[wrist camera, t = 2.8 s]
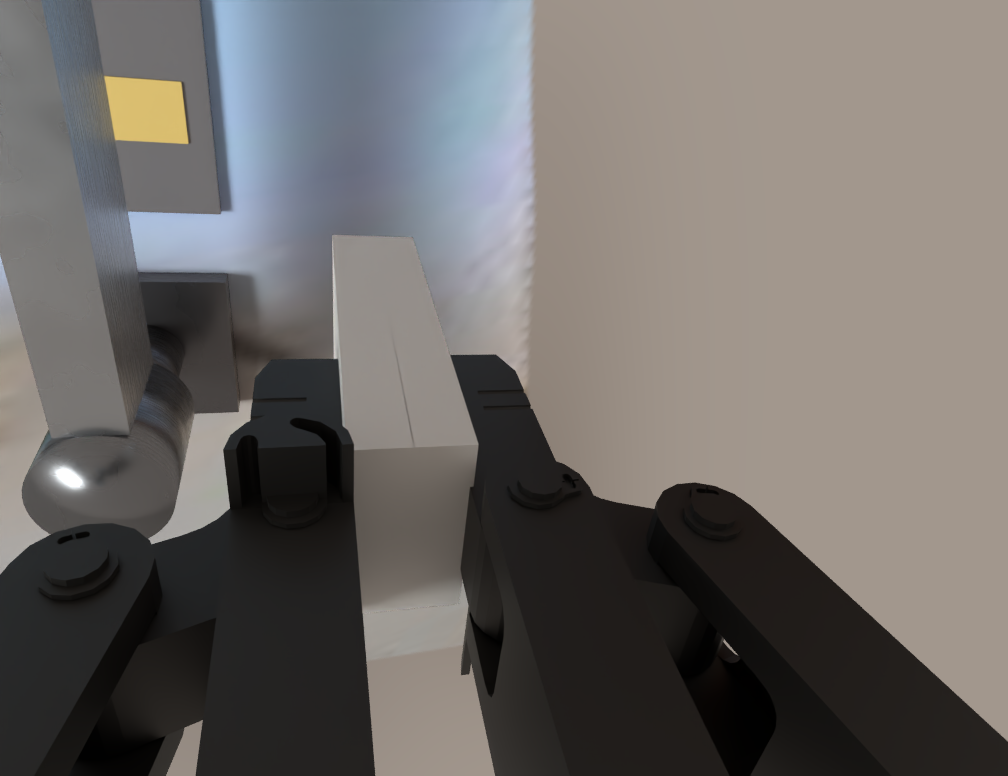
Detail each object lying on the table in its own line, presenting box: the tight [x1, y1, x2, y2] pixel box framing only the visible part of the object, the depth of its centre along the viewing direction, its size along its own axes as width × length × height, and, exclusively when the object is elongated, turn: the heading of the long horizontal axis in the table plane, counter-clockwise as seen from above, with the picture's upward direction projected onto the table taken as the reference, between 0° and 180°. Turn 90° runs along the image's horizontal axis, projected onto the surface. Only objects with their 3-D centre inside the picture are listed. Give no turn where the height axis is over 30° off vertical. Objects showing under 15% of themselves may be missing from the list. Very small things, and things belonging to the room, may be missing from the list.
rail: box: [0, 0, 195, 539], centre depth 18 cm, size 4×22×5 cm, turn 173°
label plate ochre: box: [91, 0, 221, 214], centre depth 23 cm, size 6×7×1 cm
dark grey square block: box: [138, 273, 240, 414], centre depth 27 cm, size 6×6×4 cm
